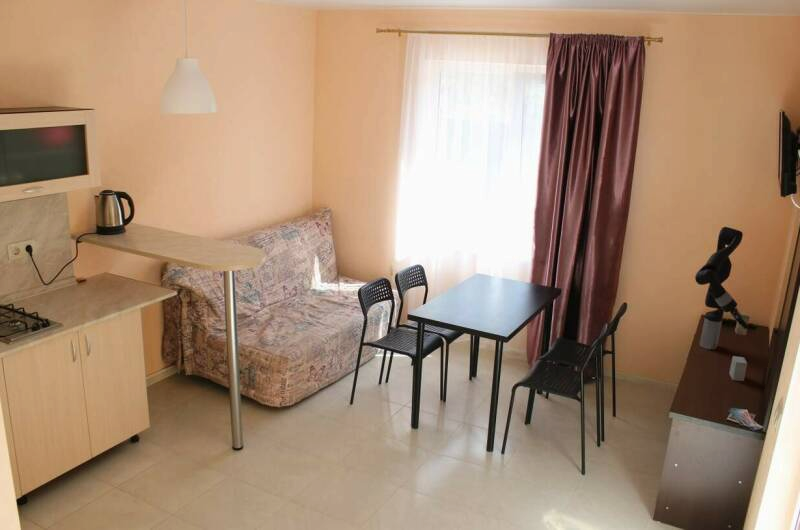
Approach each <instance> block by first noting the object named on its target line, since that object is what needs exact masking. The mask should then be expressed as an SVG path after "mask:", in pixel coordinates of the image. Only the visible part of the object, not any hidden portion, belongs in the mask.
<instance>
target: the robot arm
mask: <svg viewBox="0 0 800 530" xmlns="http://www.w3.org/2000/svg"><path fill="white" fill-rule="evenodd" d="M718 233H719V234H718V238H717V239H718V240H717V246H716V251H715V252H714V253H712V254H711V255H710V256H709V258H708V259H707V261H706V263H705V264H704V265H703V266H702V267H701V268H700V269H699V270H698V271H697V272H696V274H695V278H694V279H695V283H696V284H698V285H700V286H704V285H708V284H709V286H708V289H707V292H706V295H705V300H704V304H705V307H707V308H712V309H715V310H710V311H707V312H705V315H704V321H703V324H702V331H701V336H700V341H699V346H700V347H701V348H703V349H706V350H711V349H712V350H716V349H717V348H718V343H719V338H720V333H721V327H722V325H723V324H722V322H723V317H724V314H725V313H730V315H731V317H733V318H734V320H735V321H736V322H737V321H738V322H739V324H741V325H742V326H743V327H744V329H747V330H748V329H749V324H748V325H747V324H746V323H745V321H744V320H743V319H742V316H741V314H740V313H741V312H740V311H739V309H738V308H737V306H738V302H736V300H735V299H734V297H732V295H731V294H730V293H729V292H728V290H726V288H725V287H724V286H723V285H722V284H723V283H724V282H725V281H727V280H728V279H729V277H730V275H731V272H732V267H733V265H732V262H731V259H730V255H732V254H733V252H734V251H735V250H736V249H737V248H738V247H739V246H740V245H741V242H742V240H743V235H744V234H743V231H742V230H738V229H736V228H732V227H729V226H723V227H722V228H721V229H720V230H719V232H718ZM740 320H742V321H740ZM712 350H711V351H712Z"/></svg>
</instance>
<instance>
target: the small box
mask: <svg viewBox="0 0 800 530" xmlns="http://www.w3.org/2000/svg"><path fill="white" fill-rule="evenodd" d="M747 367H748V363H747V360H746V358H745V357H742V356H736V355H733V356H732V358H731V363H730V368H729V376H730V378H731V379H732V381H738V382H739V381H740V382H745V378H746V377H745V376H746V371H747Z"/></svg>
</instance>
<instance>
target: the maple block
mask: <svg viewBox="0 0 800 530" xmlns="http://www.w3.org/2000/svg"><path fill="white" fill-rule="evenodd" d="M740 314H741V316H742V319H743V320H744V321H745V323H746V324H747V325H748V326H749V321H750V318H751V317H750V316H749V314H747V313H742V312H740ZM740 321H742V320H740ZM735 325H736V326H735V330H734V331H735V334H736V335H740V336H742V335H743V336H747V330H748V328H747V329H744V327H743V326H742V325H741V324H739V322H738V321H736V324H735Z"/></svg>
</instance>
